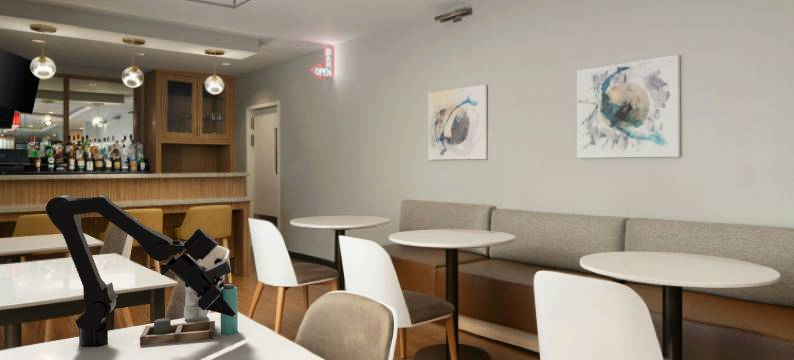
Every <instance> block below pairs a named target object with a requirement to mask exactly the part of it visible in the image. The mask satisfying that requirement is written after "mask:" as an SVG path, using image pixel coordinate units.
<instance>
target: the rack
mask: <svg viewBox="0 0 794 360" xmlns="http://www.w3.org/2000/svg"><path fill="white" fill-rule="evenodd" d="M215 332H216V321H215V320H212V321H199V322H198V321H194V322H186V323H185V322H184V323H172V324H171V333H169V334H157V335H154V325H145V327H144V328H143V331H142V332H141V335H140V336H139V346H147V345H160V344H161V345H162V344H171V343H172V344H173V343H182V342H183V343H185V342H195V341H196V342H197V341H205V340H214V339H215Z"/></svg>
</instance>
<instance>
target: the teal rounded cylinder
mask: <svg viewBox="0 0 794 360" xmlns="http://www.w3.org/2000/svg"><path fill="white" fill-rule="evenodd" d="M220 289H221V290H223V298H224V300H225V301H226V302H227V303H228V304H229V306H230V307H231V308H232V309H233V311H234V312H235V315H234V316H233V317H232V316H228V315H225V314H221V313H220V335H224V336H228V335H229V336H230V335H236V334H237V333H238V325H239V324H238V317H239V316H238V311H239V310H238V287H237V286H235V284H233V283H226V284H225V283H224V285H223V287H222V288H220Z"/></svg>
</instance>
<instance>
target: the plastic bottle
mask: <svg viewBox="0 0 794 360" xmlns="http://www.w3.org/2000/svg"><path fill="white" fill-rule="evenodd" d="M187 255H188V256H189V257H190V258H191V259H192V260H193V261H195V262H196V263H197V264H198V265H199V266H200V267H201V266H204V267H205V265H204V264H203V263H202V260H201V259H199V260H195V259H193V258H192V257H191V256H190V255H189V254H188V253H187ZM184 289H185V302H184V307H183V318H184V320H185V321H189V322H198V321H199V322H200V321H202V320H205V319H207V316H208V310H204V311H203V310H202V309H201V308H200V307H199V306H198V299H199V298H198V297H197V296H196V295H197V293H195V292H194V291H193V290H192V289H191V288H190V287H188V288H187V287H186V286H184Z"/></svg>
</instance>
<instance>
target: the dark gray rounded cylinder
mask: <svg viewBox="0 0 794 360" xmlns="http://www.w3.org/2000/svg"><path fill="white" fill-rule="evenodd" d="M153 326H154V335H157V334H169V333H171V319H170V318H165V317H164V318H163V317H162V318H158V319H154V321H153Z"/></svg>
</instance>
